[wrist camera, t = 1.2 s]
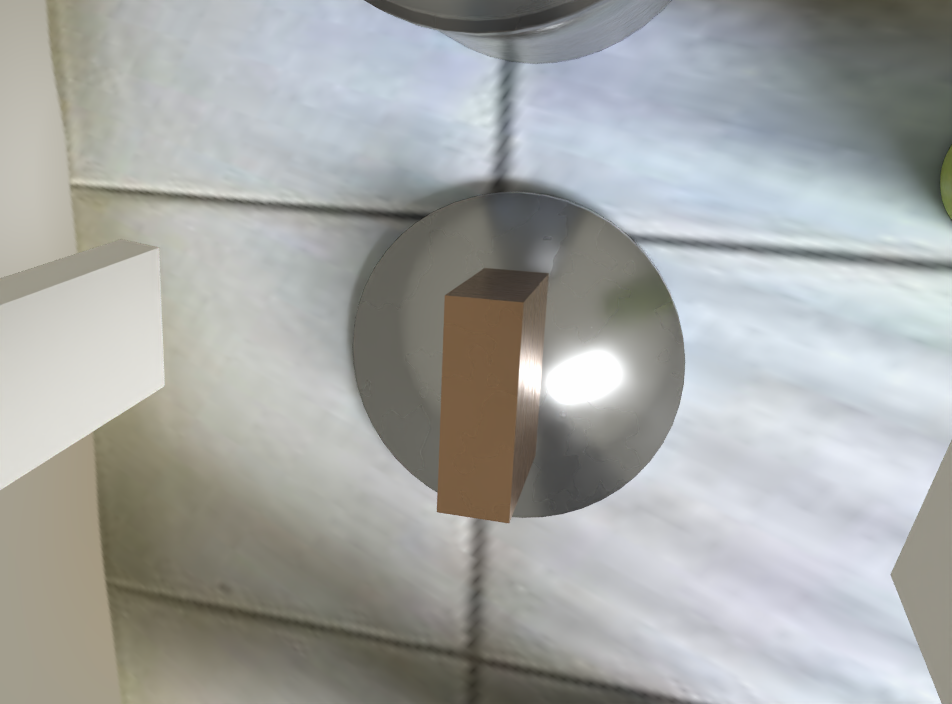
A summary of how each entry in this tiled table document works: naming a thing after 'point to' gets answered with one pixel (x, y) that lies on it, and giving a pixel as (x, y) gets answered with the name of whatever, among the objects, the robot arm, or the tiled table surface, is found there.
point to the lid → (518, 355)
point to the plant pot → (947, 182)
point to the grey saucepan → (529, 24)
